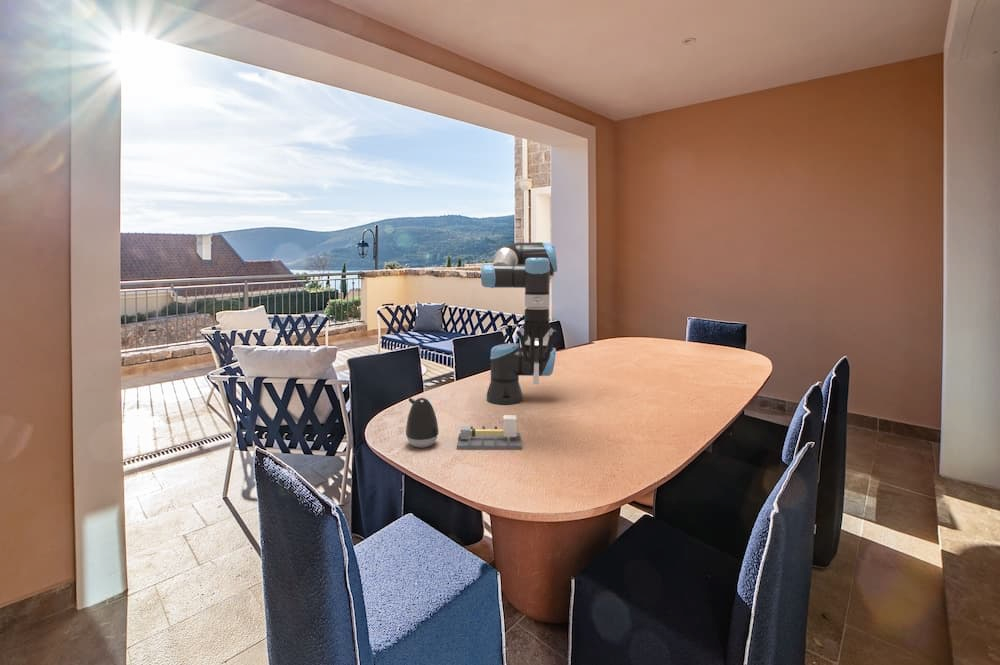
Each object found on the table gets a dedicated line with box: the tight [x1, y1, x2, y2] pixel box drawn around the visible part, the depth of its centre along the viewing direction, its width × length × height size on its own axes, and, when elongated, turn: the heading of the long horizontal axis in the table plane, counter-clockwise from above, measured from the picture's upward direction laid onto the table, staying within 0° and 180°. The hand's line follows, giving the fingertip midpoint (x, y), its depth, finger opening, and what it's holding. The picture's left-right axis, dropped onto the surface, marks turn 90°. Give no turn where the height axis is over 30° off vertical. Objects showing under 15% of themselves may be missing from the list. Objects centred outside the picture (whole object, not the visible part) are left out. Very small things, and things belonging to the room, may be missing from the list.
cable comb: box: [456, 425, 523, 450], centre depth 155 cm, size 20×11×5 cm, turn 90°
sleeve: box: [502, 414, 517, 437], centre depth 155 cm, size 4×4×6 cm
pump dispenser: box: [405, 397, 439, 449], centre depth 153 cm, size 10×10×15 cm
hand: (535, 383), depth 153 cm, fingers closed
